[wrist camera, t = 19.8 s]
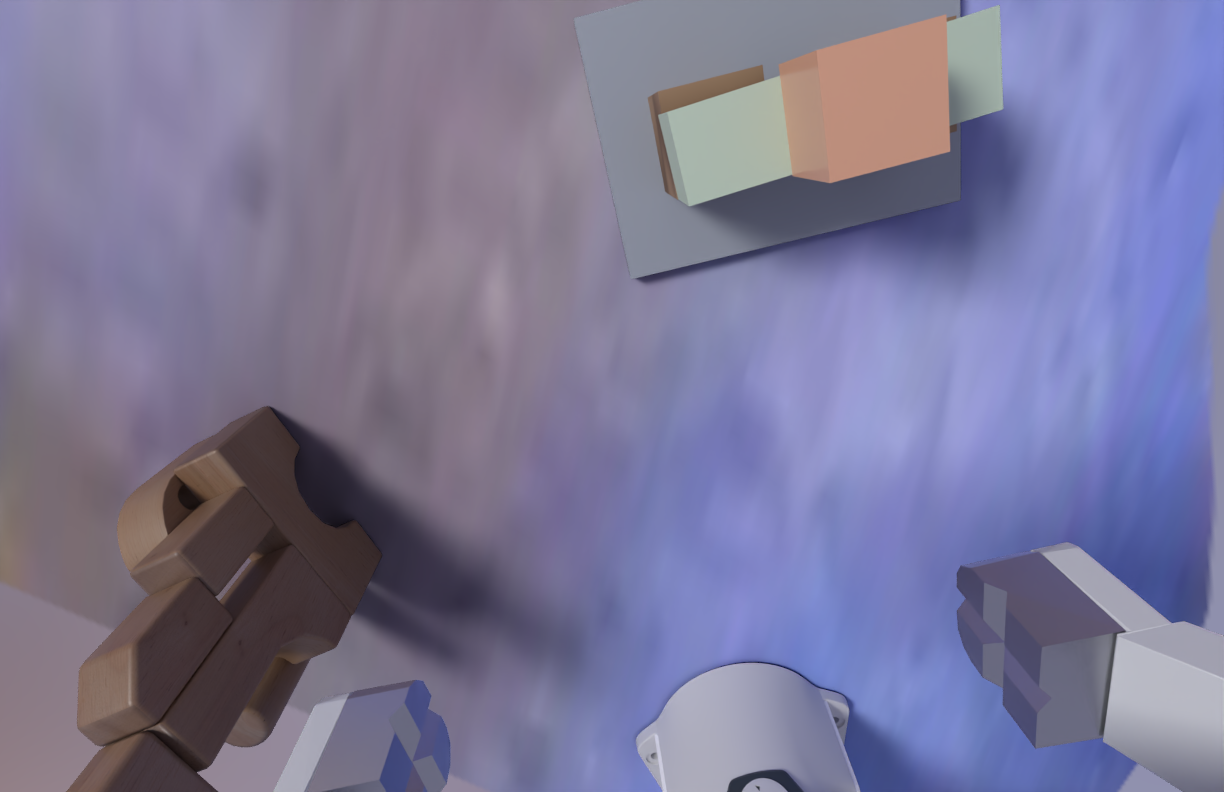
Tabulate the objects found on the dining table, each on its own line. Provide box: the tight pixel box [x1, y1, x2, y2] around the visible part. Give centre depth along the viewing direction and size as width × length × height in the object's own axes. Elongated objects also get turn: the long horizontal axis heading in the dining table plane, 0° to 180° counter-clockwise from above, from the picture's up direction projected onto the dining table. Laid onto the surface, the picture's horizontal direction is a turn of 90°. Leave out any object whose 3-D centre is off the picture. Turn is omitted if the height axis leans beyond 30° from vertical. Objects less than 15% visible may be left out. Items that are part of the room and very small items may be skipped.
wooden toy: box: [66, 406, 382, 792], centre depth 32 cm, size 16×7×25 cm, turn 25°
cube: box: [779, 14, 950, 183], centre depth 24 cm, size 4×4×4 cm
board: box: [574, 0, 961, 279], centre depth 34 cm, size 14×20×1 cm
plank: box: [658, 5, 1003, 206], centre depth 28 cm, size 4×14×4 cm, turn 106°
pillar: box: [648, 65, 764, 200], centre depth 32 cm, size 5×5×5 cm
